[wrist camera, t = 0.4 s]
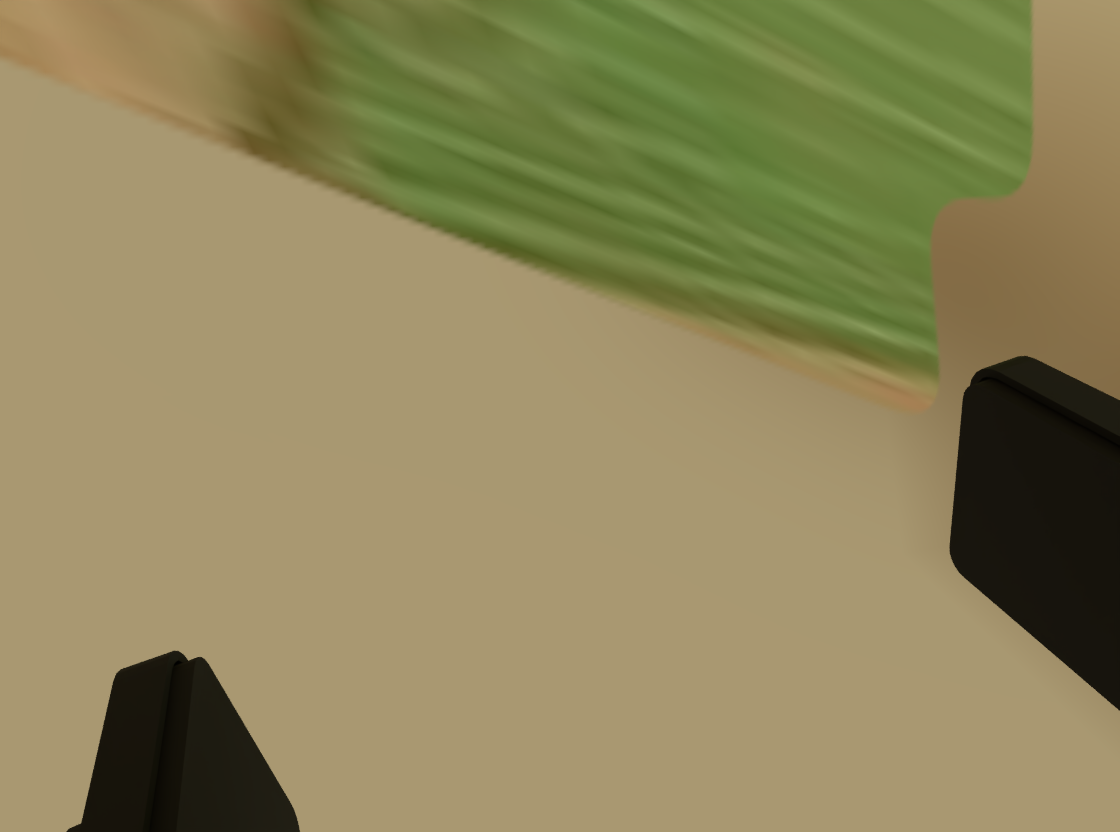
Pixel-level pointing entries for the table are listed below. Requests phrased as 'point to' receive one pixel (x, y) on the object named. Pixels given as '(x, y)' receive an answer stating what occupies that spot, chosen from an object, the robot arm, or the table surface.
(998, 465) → the robot arm
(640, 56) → the table surface
